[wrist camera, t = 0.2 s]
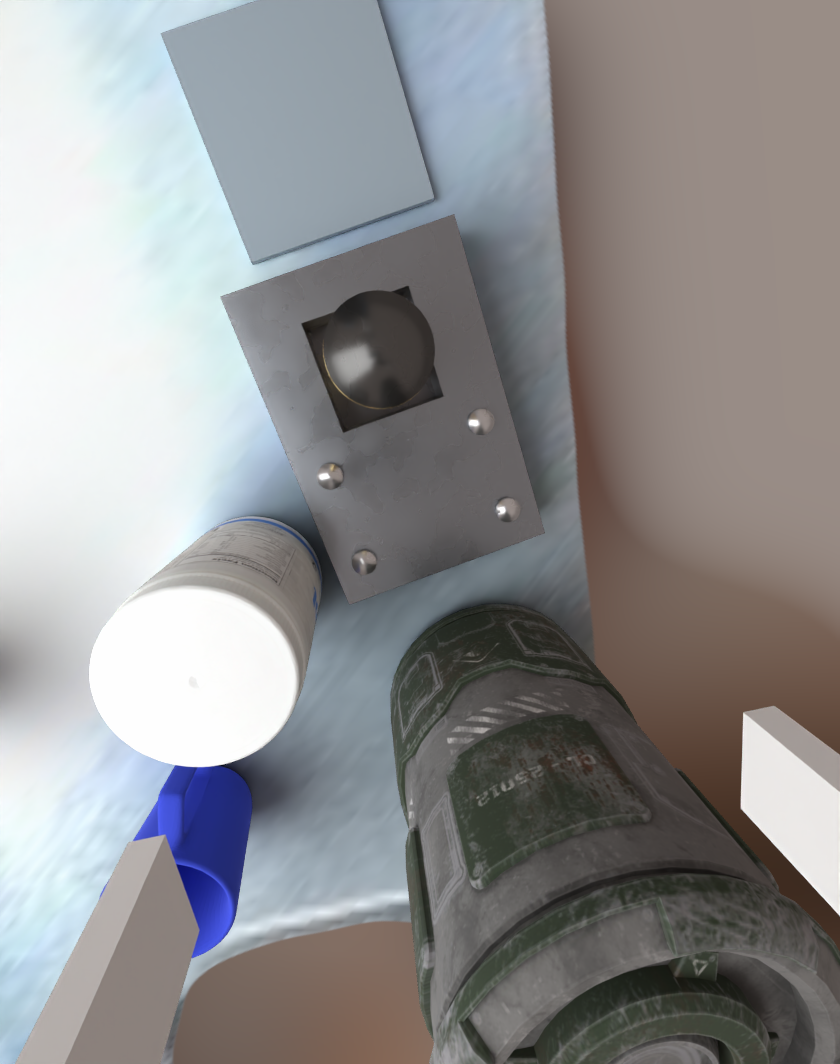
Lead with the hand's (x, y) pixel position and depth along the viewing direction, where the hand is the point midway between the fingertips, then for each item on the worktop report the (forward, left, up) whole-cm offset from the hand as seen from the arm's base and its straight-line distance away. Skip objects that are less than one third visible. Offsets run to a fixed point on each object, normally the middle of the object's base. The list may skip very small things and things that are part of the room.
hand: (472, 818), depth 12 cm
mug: (+14, -21, -27) cm, 37 cm away
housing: (-7, +2, -27) cm, 28 cm away
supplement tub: (0, -11, -27) cm, 29 cm away
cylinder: (-11, +2, -27) cm, 29 cm away
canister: (+16, +2, -27) cm, 32 cm away
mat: (-25, +3, -27) cm, 37 cm away
